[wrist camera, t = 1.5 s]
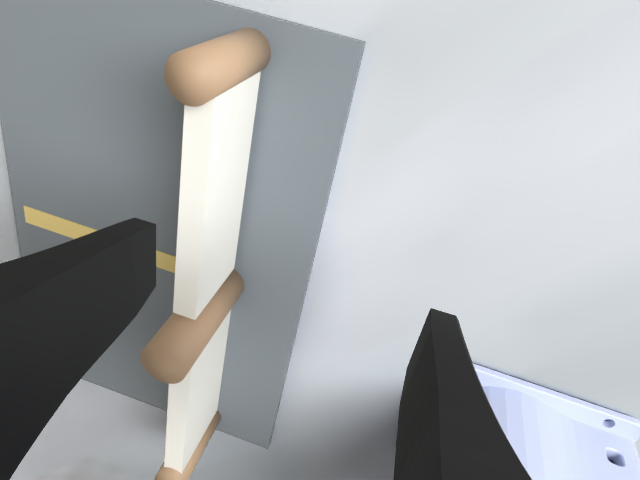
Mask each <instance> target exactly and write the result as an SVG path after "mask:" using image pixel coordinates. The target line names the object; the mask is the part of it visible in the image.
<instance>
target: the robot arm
mask: <svg viewBox="0 0 640 480" xmlns="http://www.w3.org/2000/svg"><path fill="white" fill-rule="evenodd" d="M155 287H156V224H154V223H151V222H148V221H145V220H141V219H138V218H131V219H128V220H125V221H122V222H119V223H116V224H114V225H111V226H108V227H106V228H103V229H100V230H98V231H95V232H92V233H90V234H87V235H84V236H82V237H79V238H76V239H74V240H71V241H68V242H65V243H63V244H60V245H57V246H54V247H51V248H48V249H45V250H42V251H39V252H36V253H33V254H30V255H27V256H24V257H21V258H18V259H15V260H12V261H8V262H5V263H1V264H0V480H9V479H10V478H11V476H12V475H13V473H14V472H15V470H16V468H17V467H18V465H19V464H20V462H21V461H22V459H23V458H24V456H25V455H26V453H27V452H28V450H29V449H30V447H31V446H32V444H33V443H34V442H35V440H36V439H37V437H38V436H39V434H40V433H41V431H42V430H43V428H44V427H45V425H46V424H47V423H48V421H49V420H50V418H51V417H52V416H53V414H54V413H55V412H56V410H57V409H58V407H59V406H60V405H61V403H62V402H63V400H64V399H65V398H66V396H67V395H68V394H69V392H70V391H71V390H72V389H73V388H74V386H75V385H76V384H77V383H78V381H79V380H80V379H81V378H82V377H83V376H84V375H85V373H86V372H87V371H88V370H89V369H90V368H91V367H92V366H93V364H94V363H95V362H96V361H97V360H98V359H99V358H100V357H101V355H102V354H103V353H104V352H105V351H106V350H107V349H108V348H109V347H110V345H111V344H112V343H113V342H114V341H115V340H116V339H117V338H118V336H119V335H120V334H121V333H122V332H123V331H124V330H125V328H126V327H127V326H128V325H129V324H130V323H131V322H132V320H133V319H134V318H135V317H136V316H137V314H138V313H139V311H140V310H141V308H142V307H143V305H144V304H145V302H146V301H147V299H148V298H149V296H150V295H151V293H152V291H153V290H154V288H155ZM607 419H610V420H609V421H604V420H607ZM639 437H640V421H639V420H637V419H635V418H633V417H630V416H627V415H624V414H621V413H618V412H615V411H612V410H609V409H606V408H603V407H600V406H597V405H594V404H591V403H589V402H586V401H583V400H580V399H577V398H574V397H571V396H568V395H565V394H562V393H559V392H556V391H553V390H550V389H547V388H544V387H541V386H538V385H535V384H532V383H529V382H527V381H524V380H521V379H518V378H515V377H512V376H509V375H506V374H503V373H500V372H497V371H494V370H491V369H488V368H485V367H482V366H479V365H476V364H473V363H472V360H471V357H470V355H469V352H468V349H467V346H466V343H465V340H464V337H463V334H462V331H461V328H460V324H459V321H458V319H457V317H456V316H455V315H451V314H448V313H445V312H442V311H438V310H435V309H432V308H431V309H430V311H429V314H428V316H427V319H426V321H425V324H424V326H423V329H422V331H421V334H420V336H419V339H418V341H417V344H416V346H415V349H414V351H413V354H412V357H411V359H410V362H409V364H408V367H407V371H406V376H405V381H404V386H403V391H402V396H401V401H400V408H399V420H398V432H397V444H396V456H395V469H394V480H640V458H639V455H638V451H637V448H636V445H635V442H636V440H637V439H638V438H639Z"/></svg>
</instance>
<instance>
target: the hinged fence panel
mask: <svg viewBox="0 0 640 480" xmlns="http://www.w3.org/2000/svg"><path fill="white" fill-rule="evenodd" d="M270 57H271V48H270V44H269V42H268V40H267V38H266V37H265V36H264V34H263V33H261V32H260V31H259V30H257V29H254V28H249V27H248V28H242V29H240V30H237V31H234V32H231V33H228V34H226V35H223V36H220V37H217V38H214V39H211V40H209V41H206V42H203V43H200V44H197V45H195V46H192V47H189V48H186V49H183V50H181V51H178V52H175V53H174V54H172V55H171V56H170V57H169V58H168V60H167V62H166V64H165V68H164V78H165V82H166V85H167V88H168V90H169V91H170V93H171V94H172V95H173V97H174V98H175V99H176V100H178V101H179V102H180V103H182V104H184V123H183V140H182V158H181V176H180V194H179V212H178V230H177V248H176V265H175V283H174V301H173V313H176V314H179V315H182V316H184V317H187V318H190V319H193V320H196V318H197V317H198V316H199V314H200V313H201V312H202V310H203V309H204V308H205V307H206V305H207V304H208V303H209V301H210V300H211V299H212V297H213V296H214V295H215V293H216V292H217V291H218V289H219V288H220V287H221V285H222V284H223V283H224V281H225V280H226V279H227V277H228V276H229V275H230V273H231V272H232V271H233V269H234V267H235V259H236V252H237V244H238V237H239V229H240V222H241V215H242V207H243V200H244V192H245V185H246V177H247V170H248V163H249V155H250V148H251V140H252V133H253V126H254V118H255V111H256V103H257V96H258V88H259V81H260V74H261V71H262V70H263V69H265V68H266V66H267V65H268V63H269V61H270Z"/></svg>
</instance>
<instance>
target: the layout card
mask: <svg viewBox="0 0 640 480" xmlns="http://www.w3.org/2000/svg"><path fill="white" fill-rule="evenodd" d="M248 27H249V28H254V29H257V30H259V31H260V32H261V33H263V34H264V36H265V37H266V38H267V40H268V42H269V44H270V48H271V57H270V61H269V63H268V65H267V66H266V68H265V69H263V70H262V71H261V74H260V81H259V88H258V96H257V103H256V111H255V118H254V126H253V133H252V140H251V148H250V155H249V163H248V170H247V177H246V185H245V192H244V200H243V207H242V215H241V222H240V229H239V237H238V244H237V252H236V259H235V267H234V269H235V270H236V271H237V272H238V273H239V274H240V275H241V277H242V279H243V281H244V290H243V292H242V294H241V295H240V297H239V298H238V300H237V301H236V303H235V304H234V306H233V307H232V309H231V312H230V320H229V327H228V334H227V341H226V349H225V356H224V363H223V370H222V378H221V385H220V392H219V399H218V407H217V410H218V411H219V413H220V415H221V420H220V422H219V424H218V425H217V427H216V430H219V431H222V432H224V433H227V434H230V435H232V436H235V437H238V438H240V439H243V440H246V441H248V442H251V443H254V444H256V445H259V446H261V447H264V448H267V449H268V447H269V445H270V441H271V437H272V433H273V429H274V425H275V420H276V416H277V412H278V408H279V404H280V399H281V395H282V391H283V387H284V383H285V378H286V374H287V370H288V366H289V362H290V357H291V353H292V349H293V345H294V341H295V336H296V332H297V328H298V324H299V320H300V315H301V311H302V307H303V303H304V299H305V294H306V290H307V286H308V282H309V278H310V273H311V269H312V265H313V261H314V257H315V253H316V248H317V244H318V240H319V236H320V232H321V227H322V223H323V219H324V215H325V211H326V206H327V202H328V198H329V194H330V190H331V185H332V181H333V177H334V173H335V169H336V164H337V160H338V156H339V152H340V148H341V143H342V139H343V135H344V131H345V127H346V122H347V118H348V114H349V110H350V106H351V101H352V97H353V93H354V89H355V85H356V81H357V76H358V72H359V68H360V64H361V60H362V55H363V51H364V47H365V43H366V42H365V41H361V40H357V39H354V38H350V37H346V36H342V35H339V34H335V33H331V32H328V31H324V30H320V29H317V28H313V27H309V26H305V25H302V24H298V23H294V22H291V21H287V20H283V19H280V18H276V17H272V16H268V15H265V14H261V13H257V12H254V11H250V10H246V9H243V8H239V7H235V6H231V5H228V4H224V3H220V2H217V1H213V0H0V121H1V127H2V134H3V141H4V148H5V154H6V161H7V168H8V175H9V181H10V188H11V195H12V201H13V208H14V215H15V222H16V228H17V235H18V242H19V249H20V255H21V257H24V256H27V255H30V254H33V253H36V252H39V251H42V250H45V249H48V248H51V247H54V246H57V245H60V244H63V243H65V242H68V241H71V240H74V239H76V238H79V237H82V236H84V235H87V234H90V233H92V232H95V231H98V230H100V229H103V228H106V227H108V226H111V225H114V224H116V223H119V222H122V221H125V220H128V219H131V218H138V219H141V220H145V221H148V222H151V223H154V224H156V287H155V288H154V290H153V291H152V293H151V295H150V296H149V298H148V299H147V301H146V302H145V304H144V305H143V307H142V308H141V310H140V311H139V313H138V314H137V316H136V317H135V318H134V319H133V320H132V322H131V323H130V324H129V325H128V326H127V327H126V328H125V330H124V331H123V332H122V333H121V334H120V335H119V336H118V338H117V339H116V340H115V341H114V342H113V343H112V344H111V345H110V347H109V348H108V349H107V350H106V351H105V352H104V353H103V354H102V355H101V357H100V358H99V359H98V360H97V361H96V362H95V363H94V364H93V366H92V367H91V368H90V369H89V370H88V371H87V372H86V373H85V375H84V376H83V377H82V378H81V379H84V380H86V381H89V382H92V383H94V384H97V385H100V386H102V387H105V388H108V389H110V390H113V391H116V392H118V393H121V394H123V395H126V396H129V397H131V398H134V399H137V400H139V401H142V402H145V403H147V404H150V405H153V406H155V407H158V408H161V409H163V410H166V411H167V408H168V390H169V384H168V383H164V382H161V381H159V380H157V379H155V378H154V377H152V376H151V375H150V374H149V373H148V372H147V371H146V370H145V369H144V367H143V365H142V363H141V360H140V354H141V351H142V350H143V349H144V347H145V346H146V345H147V344H148V343H149V341H150V340H151V339H152V338H153V337H154V335H155V334H156V333H157V332H158V331H159V329H160V328H161V327H162V326H163V325H164V323H165V322H166V321H167V320H168V318H169V317H170V316H171V315H172V314H173V301H174V283H175V265H176V248H177V230H178V212H179V194H180V176H181V158H182V140H183V123H184V104H182V103H180V102H179V101H178V100H176V99H175V98H174V97H173V95H172V94H171V93H170V91H169V90H168V88H167V85H166V82H165V78H164V68H165V64H166V62H167V60H168V58H169V57H170V56H171V55H172V54H174V53H175V52H178V51H181V50H183V49H186V48H189V47H192V46H195V45H197V44H200V43H203V42H206V41H209V40H211V39H214V38H217V37H220V36H223V35H226V34H228V33H231V32H234V31H237V30H240V29H242V28H248Z"/></svg>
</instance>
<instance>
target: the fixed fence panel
mask: <svg viewBox="0 0 640 480" xmlns="http://www.w3.org/2000/svg"><path fill="white" fill-rule="evenodd" d="M243 290H244V281H243V279H242V277H241V275H240V274H239V273H238V272H237V271H236V270H235V269H233V271H232V272H231V273H230V275H229V276H228V277H227V279H226V280H225V281H224V283H223V284H222V285H221V287H220V288H219V289H218V291H217V292H216V293H215V295H214V296H213V297H212V299H211V300H210V301H209V303H208V304H207V305H206V307H205V308H204V309H203V310H202V312H201V313H200V314H199V316H198V317H197V318H196V320H193V319H190V318H187V317H184V316H182V315H179V314H176V313H173V314H172V315H171V316H170V317H169V318H168V320H167V321H166V322H165V323H164V325H163V326H162V327H161V328H160V329H159V331H158V332H157V333H156V334H155V335H154V337H153V338H152V339H151V340H150V341H149V343H148V344H147V345H146V346H145V347H144V349H143V350H142V351H141V354H140V360H141V363H142V365H143V367H144V369H145V370H146V371H147V372H148V373H149V374H150V375H151V376H152V377H154V378H155V379H157V380H159V381H161V382H164V383H168V384H169V390H168V408H167V426H166V444H165V461H164V463H163V465H162V466H161V468H160V470H159V471H158V473H157V475H156V476H155V480H188V479H189V477H190V475H191V473H192V472H193V470H194V468H195V466H196V464H197V462H198V461H199V459H200V457H201V455H202V453H203V451H204V449H205V448H206V446H207V444H208V442H209V440H210V438H211V437H212V435H213V433H214V431H215V429H216V427H217V425H218V424H219V422H220V420H221V415H220V413H219V411H218V410H217V407H218V399H219V392H220V385H221V378H222V370H223V363H224V356H225V349H226V341H227V334H228V327H229V320H230V312H231V309H232V307H233V306H234V304H235V303H236V301H237V300H238V298H239V297H240V295H241V294H242V292H243Z"/></svg>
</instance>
